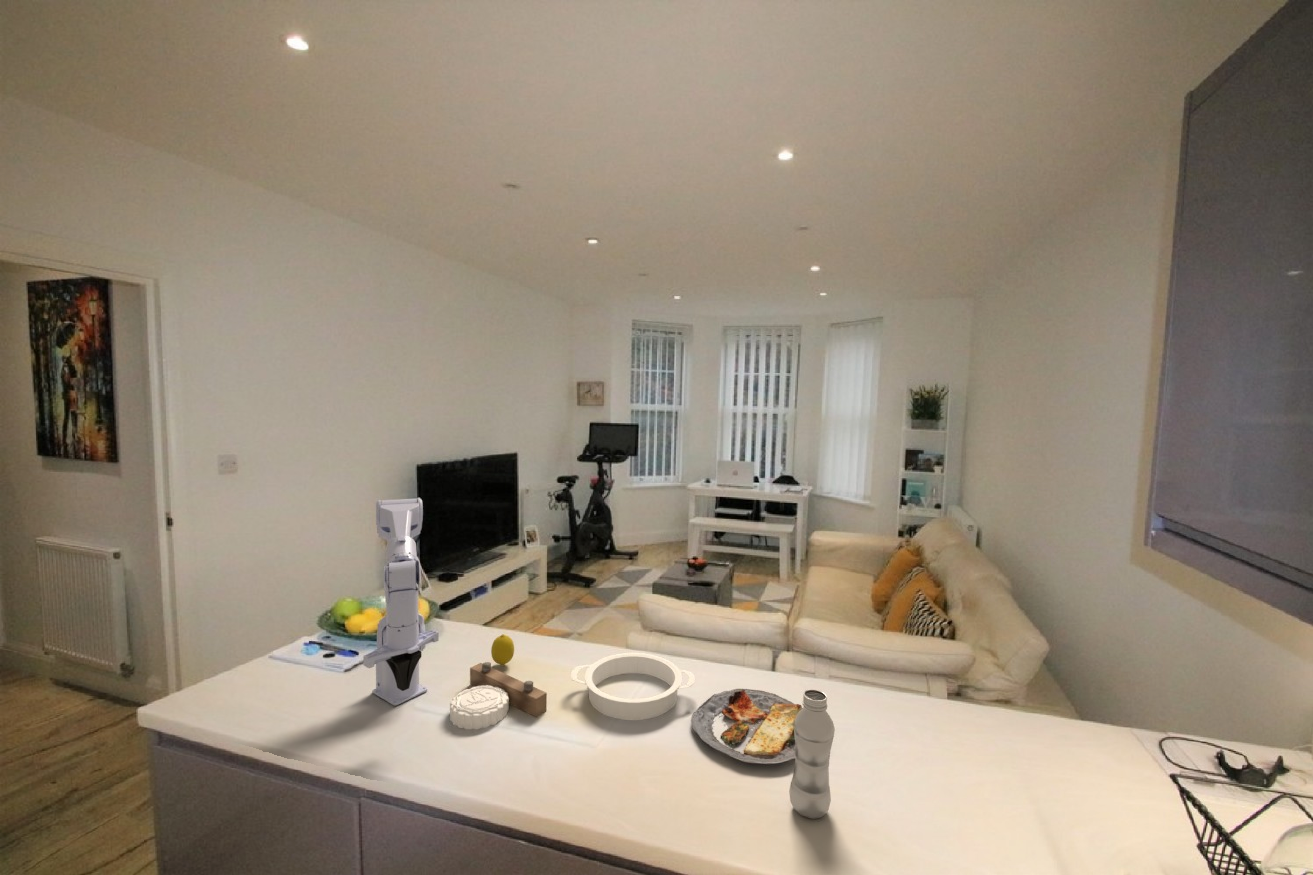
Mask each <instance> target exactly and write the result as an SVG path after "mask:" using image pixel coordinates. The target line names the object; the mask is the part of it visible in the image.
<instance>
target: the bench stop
mask: <svg viewBox="0 0 1313 875" xmlns="http://www.w3.org/2000/svg"><path fill="white" fill-rule="evenodd" d="M469 685H471V686H472V687H477V686H486V685H488V686H493V687H499V688H501V689H504V690H505V692H506V693H508V698H509V705H511V706H513V707H514V708H515V707H516V708H517V709H519V710H521V711H524V712H525V713H528V714H529V715H531V716H533V717H535V718H537V717H538V716H540V715H542V714H544V713H545V712H546V711H547V706H548V705H547V697H548V694H547V692H546V691H543V690H541V689H539V688H538V687H535V686H534V681H532V680H526V681H522V680H519V679H518V678H516V677H513V676H512V675H508V674H506V673H504V672H502V671H500V670H498V669H495V668H493V667H492V662H490V661H487V662H486V661H485V662H483V663H482V662H479V663H478V664H475V665H473V666H471V667H470V668H469Z"/></svg>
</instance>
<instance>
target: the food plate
mask: <svg viewBox="0 0 1313 875" xmlns="http://www.w3.org/2000/svg"><path fill="white" fill-rule="evenodd" d="M802 708H803V705H801V704H799V703H797V704H796V703H793V702H792V701H790V700H788V699H787V698H784V697H782V696H780V695H777V694H775V693H773V692H769V691H765V690H760V689H759V690H758V689H747V688H735V689H731V690H724V691H722V692H719V693H714V694H713V695H711V696H710V697H709V698H708V699H706V701H704V702H703V703H702V704H701V705H700V706H699V707H698V708H697V709H696V710H695V711H693V712H692V714H691V718H690V723H691V727H692V729H693V730H694V732H695V733H697V735H698V736H699V737H700V739H701V740H702V741H703V742H704V743H706V744H707V745H708V746H710V747H711V748H713V749H714V750H717V751H719V752H720V753H722V754H725V755H726V756H727V757H731V758H733V759H736V760H739V761H741V762H743V763H750V764H764V765H765V764H766V765H770V764H780V763H784V762H787V761H788V762H789V761H792V760H795V736H794V720H795V717H796V715H797V714H798V712H799V711H800V710H801V709H802ZM717 717H718V719H719V718H720V717H722V719H721V720H722V721H724V722H725V723H724V724H723V727H726V726H727V728H726V730H724V731H723V732H722V733H721V734H720V739H722V740H723V741H724V744H723V743H722V742H720V740H718V739H717V738H718V737H717V736H715V735H714V734H715V732H714V731H713V730H714V726H713V725H714V724H715V722H716V719H715V718H717ZM747 737H748V738H749V739H748V742H747V744H746V746H745V748H744V749H743V752H740V751H737V750H735V749H733V748H731V747H734V748H735V747H736V746H737V745H739V744H740V743H741V742H742V740H743V739H744V738H747ZM725 744H726V745H725ZM727 745H728V746H727ZM729 746H731V747H729Z"/></svg>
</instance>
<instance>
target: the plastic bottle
mask: <svg viewBox="0 0 1313 875" xmlns="http://www.w3.org/2000/svg"><path fill="white" fill-rule="evenodd" d="M827 701H828V697H827V695H826V693H824V692H823V691H822V690H817V689H812V688H811V689H807V690H806V689H805V691H804V692H803V698H802V709H801V710H800V711H799V712H798V714H797V715H796V717H795V720H794V736H795V758H794V767H793V773H792V778H791V781H790V785H789V786H790V787H789V791H788V792H789V801H790V803H791V805H792V807H793V809H794V810H795V812H796V813H797V814H799V815H800V816H802V817H805V818H808V819H811V820H813V819H815V820H816V819H820V818H822V817H824V816H825V815H826V814H827V813H828V812H829V809H830V805H831V803H832V802H831V801H832V800H831V799H832V798H831V797H832V796H831V787H830V776H829V769H830V768H829V767H830V760H831V759H830V757H831V750H832V746H833V741H834V737H835V731H836V730H835V724H834V721H833V720H832V718H831V716H830V714H829V713H828V712H827V709H828V702H827Z"/></svg>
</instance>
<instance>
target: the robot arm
mask: <svg viewBox="0 0 1313 875" xmlns="http://www.w3.org/2000/svg"><path fill="white" fill-rule="evenodd" d="M423 508H424V506H423V500H422V498H421V497H417V498H403V499H402V498H401V499H383V500H382V499H377V501H376V502H375V524H376V530H377V531H376V532H377V535H378V538H380V539H383V540H386V542H387V543H386V546H385V565H384V566H383V590H384V595H385V606H386V607H385V610H386V611H385V613H386V615H384V616H383V617H382V618H381V619H380V620H379V621H378V623H377V632H376V648H375V649H374V650H373V651H371V652H369V653H367V654H364V655H363V657H362V658H363V667H365V668H367V669H371V668H373V667H375V689H372V692H371V693H372V694H373V695H376V696H378V697H379V698H381V699H382V700H384V701H386V702H387V703H388V704H390V705H392V706H394V707H396V706H398V705H400V704H402V703H404V702H407V701H409V700H411V699H413V698H415V697H417V696H419V695H422V694H424V693H426V692H428V687H426V686H424V685H423V684H420V660H421V659H422V652H423V651H424V650H425V649H426V645H427V644H430V643H437V642H439V631H437V630H435V629H431V630H428V631H426V625H425V617H424V616H423V614H422V613H420V612H419V590H420V588H421V585H422V583H421V582H422V571H421V570H422V569H421V562H420V559H419V556H417V554H418V553H417V542H415V539H414V537H417V536H419V535H420V534H421V531H422V528H423V518H424V517H423V516H424V509H423ZM417 585H418V587H417Z"/></svg>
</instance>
